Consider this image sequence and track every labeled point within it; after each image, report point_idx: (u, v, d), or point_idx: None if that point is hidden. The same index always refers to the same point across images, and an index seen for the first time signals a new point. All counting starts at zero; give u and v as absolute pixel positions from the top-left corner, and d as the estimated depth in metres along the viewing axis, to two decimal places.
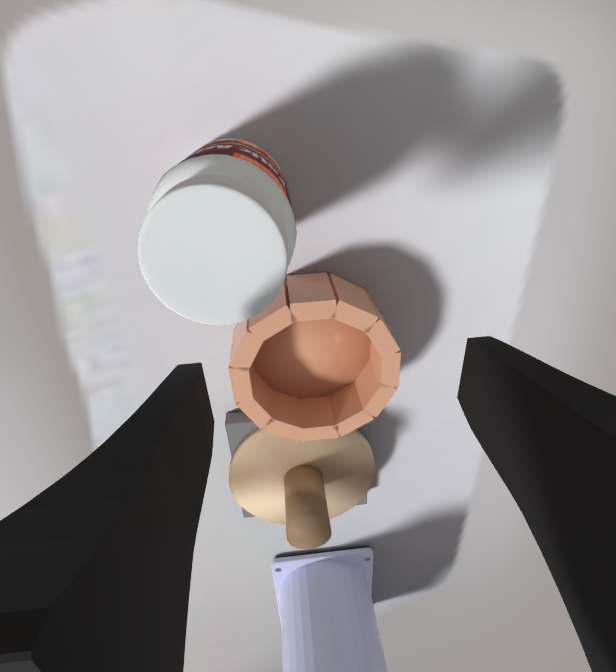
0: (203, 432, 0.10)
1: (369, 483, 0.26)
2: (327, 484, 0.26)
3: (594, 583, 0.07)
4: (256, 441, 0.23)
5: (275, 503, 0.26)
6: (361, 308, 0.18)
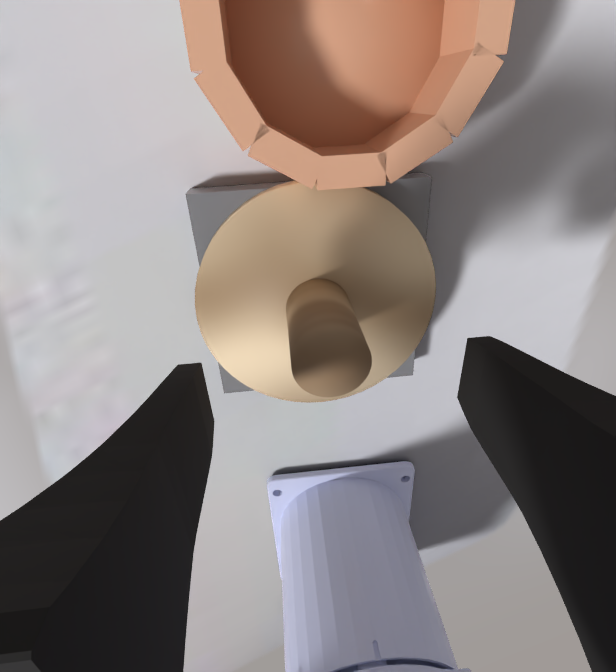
0: (203, 432, 0.10)
1: (423, 325, 0.16)
2: None
3: (594, 583, 0.07)
4: (239, 220, 0.14)
5: (272, 358, 0.16)
6: None
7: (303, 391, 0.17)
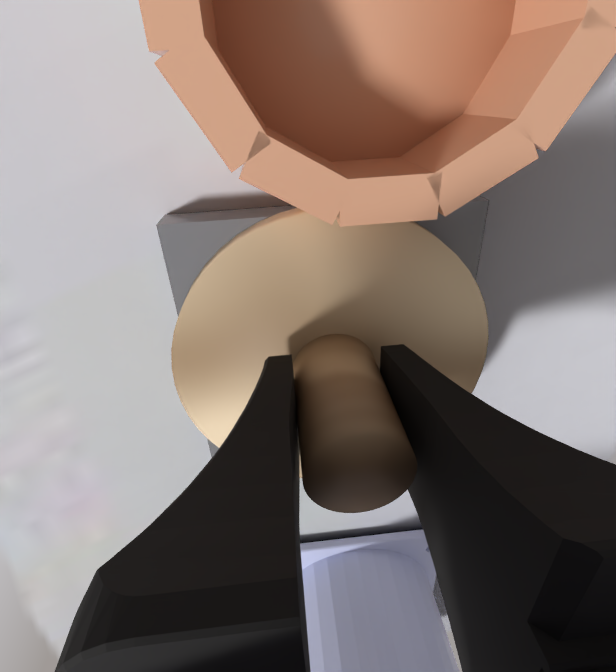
0: None
1: (468, 387, 0.13)
2: None
3: (464, 599, 0.07)
4: (228, 262, 0.10)
5: None
6: None
7: None
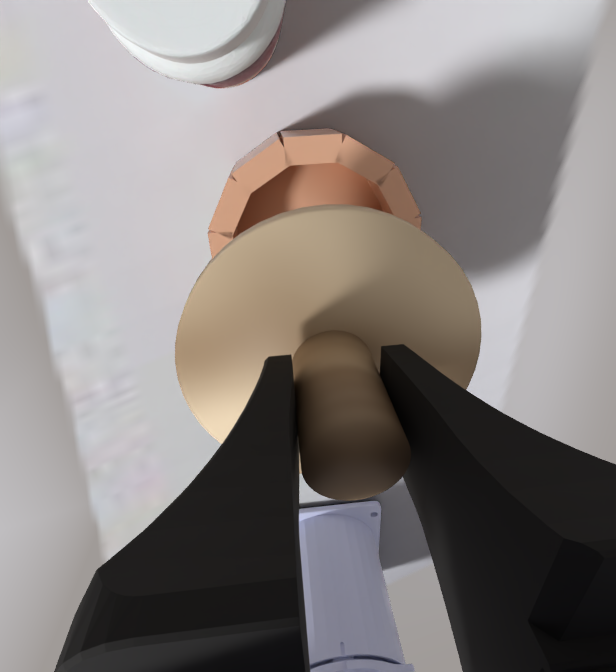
0: None
1: (462, 384, 0.13)
2: None
3: (464, 599, 0.07)
4: (232, 259, 0.10)
5: None
6: None
7: None
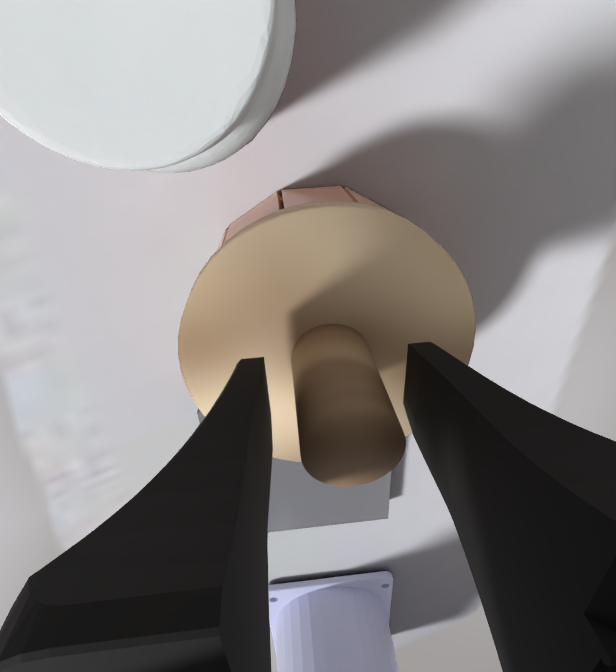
0: (268, 426, 0.10)
1: None
2: None
3: (505, 594, 0.07)
4: (233, 254, 0.11)
5: (273, 414, 0.13)
6: None
7: None
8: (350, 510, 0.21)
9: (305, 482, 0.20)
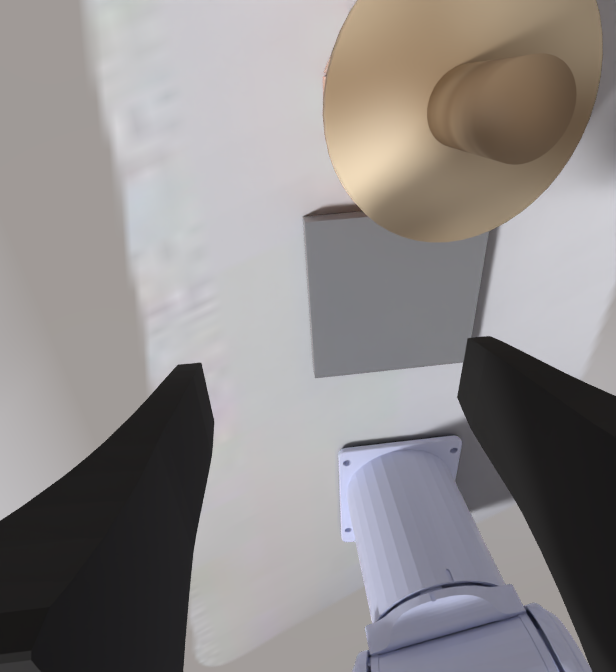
0: (203, 432, 0.10)
1: (575, 137, 0.14)
2: None
3: (594, 583, 0.07)
4: None
5: (401, 178, 0.14)
6: None
7: (428, 226, 0.15)
8: (433, 350, 0.22)
9: (395, 313, 0.21)
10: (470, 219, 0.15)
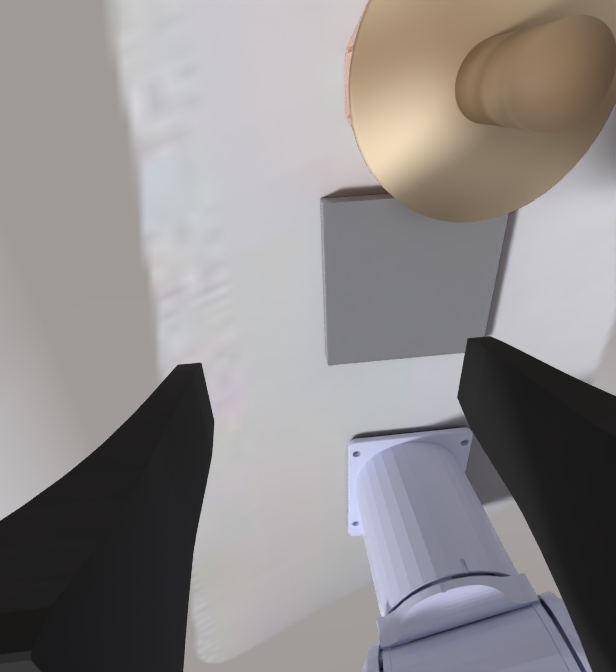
0: (203, 432, 0.10)
1: (603, 115, 0.14)
2: None
3: (594, 583, 0.07)
4: None
5: (427, 154, 0.14)
6: None
7: (452, 206, 0.15)
8: (448, 338, 0.22)
9: (411, 299, 0.20)
10: (493, 198, 0.15)
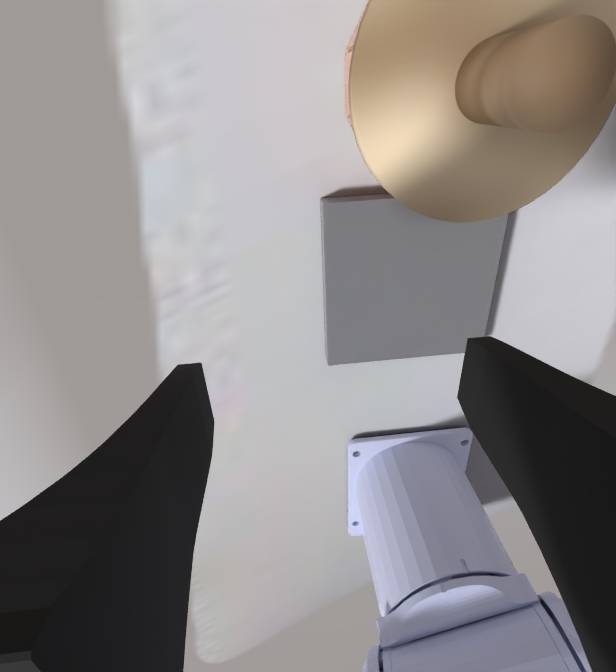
0: (203, 432, 0.10)
1: (603, 115, 0.14)
2: None
3: (594, 583, 0.07)
4: None
5: (427, 154, 0.14)
6: None
7: (452, 206, 0.15)
8: (448, 338, 0.22)
9: (411, 299, 0.20)
10: (493, 198, 0.15)
